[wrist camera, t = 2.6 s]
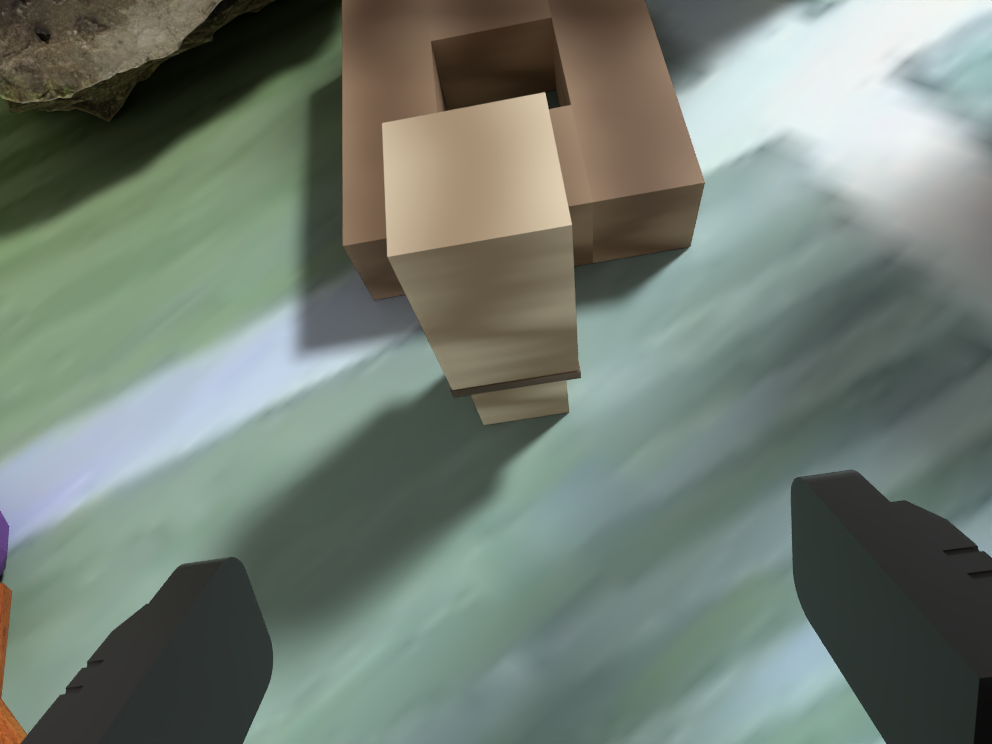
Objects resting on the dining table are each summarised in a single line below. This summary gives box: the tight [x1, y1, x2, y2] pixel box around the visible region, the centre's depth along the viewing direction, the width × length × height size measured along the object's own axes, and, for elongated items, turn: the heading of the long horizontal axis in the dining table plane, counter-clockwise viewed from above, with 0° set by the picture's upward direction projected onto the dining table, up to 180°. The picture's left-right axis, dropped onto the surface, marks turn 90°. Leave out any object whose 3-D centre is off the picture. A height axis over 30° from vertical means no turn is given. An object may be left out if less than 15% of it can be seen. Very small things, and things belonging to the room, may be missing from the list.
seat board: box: [342, 0, 705, 300], centre depth 30 cm, size 14×16×4 cm
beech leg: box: [382, 92, 581, 425], centre depth 21 cm, size 4×4×12 cm
